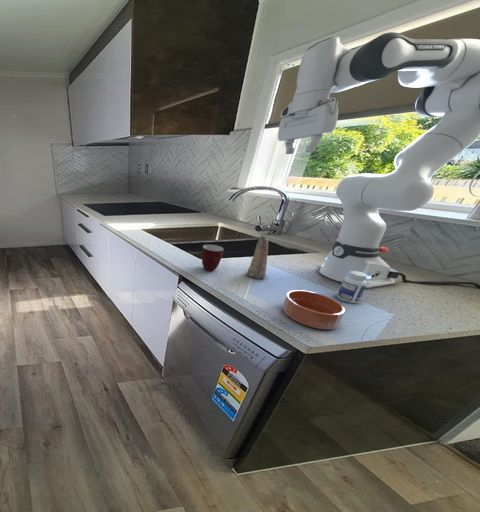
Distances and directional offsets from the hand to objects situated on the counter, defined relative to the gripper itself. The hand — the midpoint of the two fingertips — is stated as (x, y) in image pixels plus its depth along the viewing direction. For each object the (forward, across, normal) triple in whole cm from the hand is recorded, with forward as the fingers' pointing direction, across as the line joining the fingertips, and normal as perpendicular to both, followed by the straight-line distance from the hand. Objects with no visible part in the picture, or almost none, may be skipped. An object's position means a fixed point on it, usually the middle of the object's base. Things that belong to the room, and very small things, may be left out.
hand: (299, 153), depth 80 cm
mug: (+45, +8, +21) cm, 51 cm away
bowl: (+48, -23, +3) cm, 53 cm away
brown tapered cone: (+46, +4, +4) cm, 47 cm away
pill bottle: (+48, -12, -17) cm, 52 cm away
